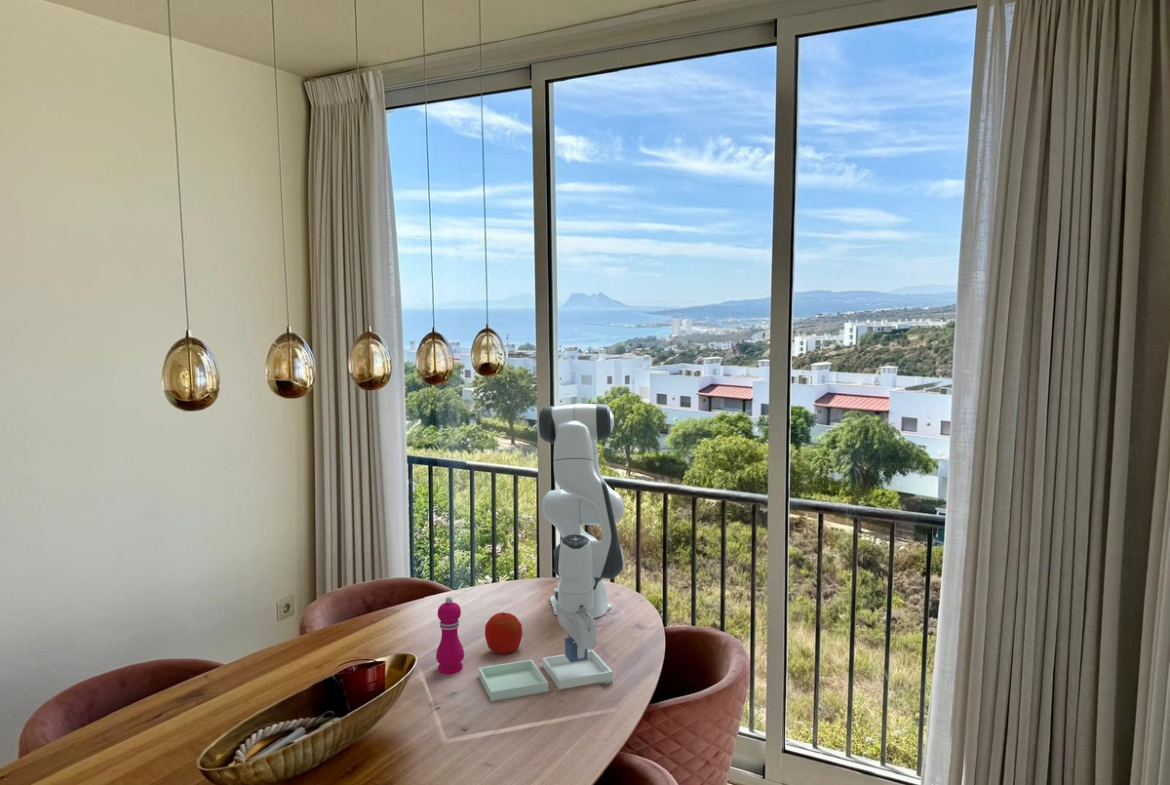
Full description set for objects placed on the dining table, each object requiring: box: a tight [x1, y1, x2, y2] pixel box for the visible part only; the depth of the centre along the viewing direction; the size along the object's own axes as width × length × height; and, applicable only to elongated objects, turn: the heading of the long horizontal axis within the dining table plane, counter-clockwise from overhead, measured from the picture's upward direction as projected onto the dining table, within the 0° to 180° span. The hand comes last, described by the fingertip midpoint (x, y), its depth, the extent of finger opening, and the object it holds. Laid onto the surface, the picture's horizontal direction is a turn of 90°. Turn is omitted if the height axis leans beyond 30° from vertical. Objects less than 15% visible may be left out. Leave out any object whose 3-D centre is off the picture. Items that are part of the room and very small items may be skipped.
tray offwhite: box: [541, 649, 614, 690], centre depth 200 cm, size 14×14×3 cm
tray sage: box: [477, 659, 549, 702], centre depth 194 cm, size 14×14×3 cm
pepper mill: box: [435, 596, 465, 675], centre depth 202 cm, size 7×7×20 cm
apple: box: [484, 612, 524, 655], centre depth 214 cm, size 10×10×12 cm
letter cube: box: [564, 637, 588, 662], centre depth 199 cm, size 4×4×5 cm
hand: (576, 652), depth 199 cm, fingers closed on letter cube, 4 cm apart
